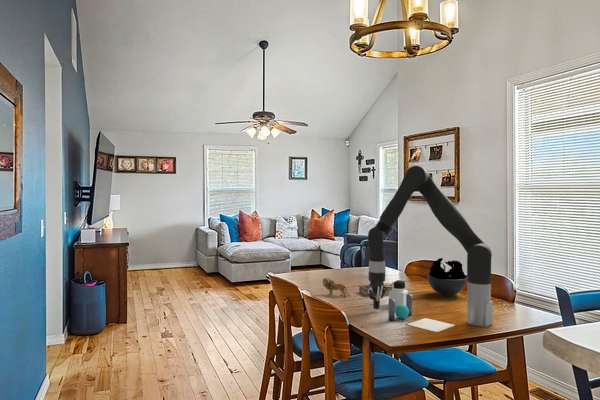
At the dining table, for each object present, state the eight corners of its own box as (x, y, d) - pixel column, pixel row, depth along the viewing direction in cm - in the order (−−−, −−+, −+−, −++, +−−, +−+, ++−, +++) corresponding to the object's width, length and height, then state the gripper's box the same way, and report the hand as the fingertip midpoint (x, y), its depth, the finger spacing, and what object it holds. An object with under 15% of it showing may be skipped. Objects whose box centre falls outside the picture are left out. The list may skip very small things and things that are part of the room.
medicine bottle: (407, 305, 226) (408, 280, 225) (403, 308, 219) (403, 282, 219) (393, 303, 229) (394, 278, 229) (388, 306, 223) (389, 281, 223)
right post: (413, 314, 208) (413, 294, 207) (409, 316, 206) (410, 295, 206) (408, 313, 210) (408, 293, 209) (404, 314, 208) (405, 294, 208)
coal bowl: (469, 300, 236) (470, 263, 235) (428, 298, 240) (429, 261, 239) (463, 292, 255) (464, 257, 255) (426, 290, 259) (426, 256, 259)
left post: (395, 320, 199) (396, 299, 199) (392, 321, 197) (392, 300, 197) (390, 319, 201) (391, 298, 200) (387, 320, 199) (387, 299, 199)
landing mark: (455, 325, 192) (455, 325, 192) (437, 332, 182) (437, 331, 182) (425, 318, 202) (425, 318, 202) (406, 324, 193) (406, 324, 193)
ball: (414, 312, 201) (405, 300, 204) (405, 313, 197) (397, 302, 200) (406, 320, 204) (398, 309, 207) (397, 322, 200) (389, 311, 203)
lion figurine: (321, 295, 244) (321, 278, 244) (323, 293, 249) (323, 276, 249) (349, 297, 240) (349, 280, 240) (350, 295, 245) (351, 278, 245)
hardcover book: (359, 293, 254) (359, 285, 254) (394, 290, 260) (394, 283, 260) (368, 297, 242) (368, 289, 242) (405, 295, 248) (405, 287, 248)
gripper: (374, 273, 205) (374, 312, 205) (392, 270, 214) (391, 307, 215) (361, 271, 211) (360, 309, 211) (379, 267, 220) (378, 304, 220)
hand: (376, 308), depth 213 cm, fingers closed
